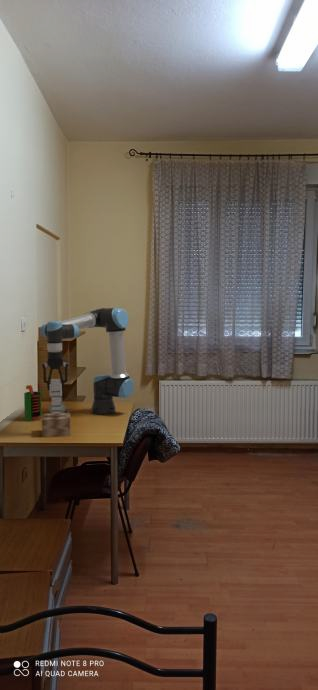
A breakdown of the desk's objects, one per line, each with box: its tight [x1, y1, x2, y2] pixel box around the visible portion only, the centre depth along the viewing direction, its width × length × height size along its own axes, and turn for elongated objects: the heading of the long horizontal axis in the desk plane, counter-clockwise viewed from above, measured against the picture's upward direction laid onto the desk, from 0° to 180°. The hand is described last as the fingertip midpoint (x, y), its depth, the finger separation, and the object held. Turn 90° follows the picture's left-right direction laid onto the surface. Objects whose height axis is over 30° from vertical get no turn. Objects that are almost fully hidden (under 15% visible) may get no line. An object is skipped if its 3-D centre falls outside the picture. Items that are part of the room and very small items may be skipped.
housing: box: [41, 412, 71, 438], centre depth 269 cm, size 14×14×10 cm
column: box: [50, 378, 61, 417], centre depth 268 cm, size 5×5×20 cm
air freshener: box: [48, 396, 68, 414], centre depth 317 cm, size 11×8×10 cm
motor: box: [23, 384, 42, 422], centre depth 301 cm, size 10×9×20 cm
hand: (55, 395), depth 268 cm, fingers closed on column, 5 cm apart
